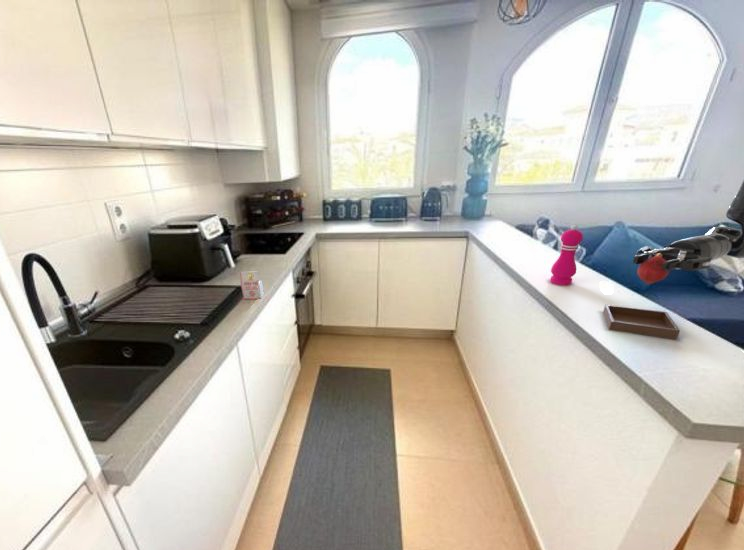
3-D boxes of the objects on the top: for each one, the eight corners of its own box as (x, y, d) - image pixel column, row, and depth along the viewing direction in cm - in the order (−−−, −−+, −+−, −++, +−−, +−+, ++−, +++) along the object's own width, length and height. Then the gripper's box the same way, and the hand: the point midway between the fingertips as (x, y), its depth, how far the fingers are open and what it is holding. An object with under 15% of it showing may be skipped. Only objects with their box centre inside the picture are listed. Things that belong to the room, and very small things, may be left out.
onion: (663, 289, 84) (675, 258, 81) (632, 285, 88) (642, 255, 84) (664, 282, 88) (675, 252, 84) (634, 278, 92) (644, 249, 88)
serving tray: (663, 320, 93) (667, 311, 91) (676, 339, 84) (680, 330, 83) (602, 312, 99) (605, 304, 98) (608, 329, 90) (611, 321, 89)
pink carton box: (246, 295, 129) (241, 270, 125) (263, 295, 128) (259, 269, 124) (243, 299, 126) (238, 273, 121) (261, 299, 125) (257, 273, 121)
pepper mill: (552, 277, 125) (565, 221, 116) (575, 281, 120) (591, 224, 111) (545, 283, 121) (558, 225, 112) (569, 287, 116) (585, 228, 107)
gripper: (664, 232, 94) (622, 242, 89) (736, 243, 82) (692, 255, 77) (655, 258, 97) (614, 269, 92) (723, 273, 85) (679, 286, 80)
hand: (649, 263), depth 85 cm, fingers closed on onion, 5 cm apart
